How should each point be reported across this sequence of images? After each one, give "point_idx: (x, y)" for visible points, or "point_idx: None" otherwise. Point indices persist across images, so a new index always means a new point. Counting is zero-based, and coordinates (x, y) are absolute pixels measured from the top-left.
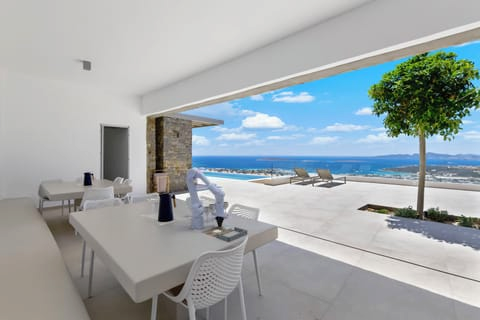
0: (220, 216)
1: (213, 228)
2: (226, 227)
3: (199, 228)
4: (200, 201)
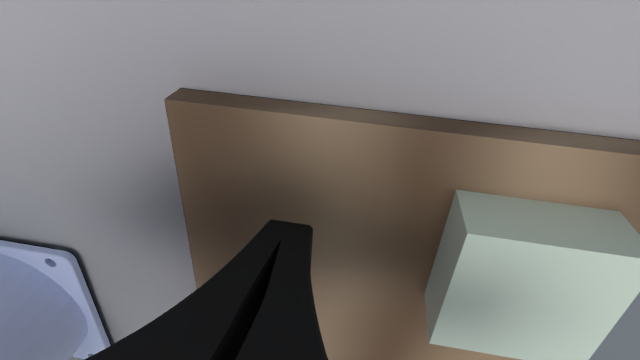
0: None
1: (210, 273)
2: (509, 299)
3: (81, 343)
4: None
